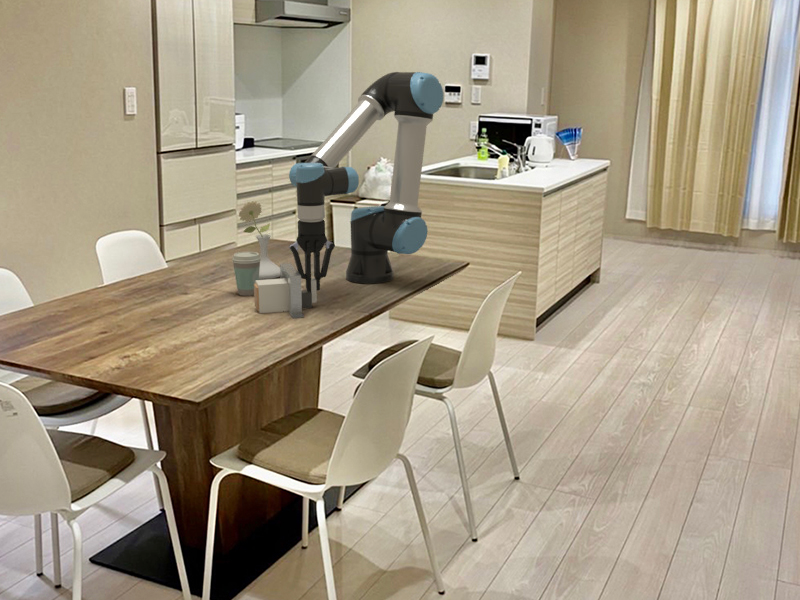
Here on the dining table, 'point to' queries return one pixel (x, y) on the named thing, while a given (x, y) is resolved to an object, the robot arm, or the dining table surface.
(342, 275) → the dining table surface
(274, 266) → the flower in vase
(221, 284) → the dining table surface
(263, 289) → the plug
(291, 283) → the bar
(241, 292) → the coffee cup
